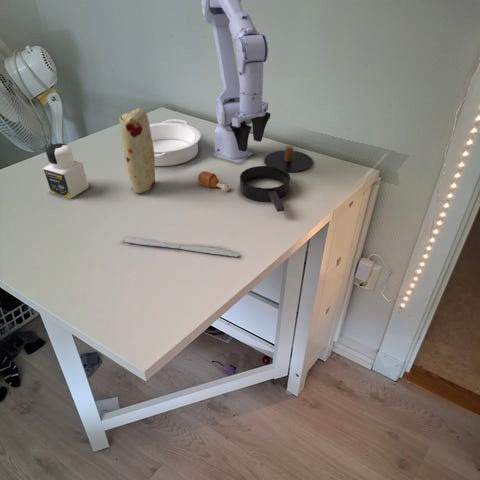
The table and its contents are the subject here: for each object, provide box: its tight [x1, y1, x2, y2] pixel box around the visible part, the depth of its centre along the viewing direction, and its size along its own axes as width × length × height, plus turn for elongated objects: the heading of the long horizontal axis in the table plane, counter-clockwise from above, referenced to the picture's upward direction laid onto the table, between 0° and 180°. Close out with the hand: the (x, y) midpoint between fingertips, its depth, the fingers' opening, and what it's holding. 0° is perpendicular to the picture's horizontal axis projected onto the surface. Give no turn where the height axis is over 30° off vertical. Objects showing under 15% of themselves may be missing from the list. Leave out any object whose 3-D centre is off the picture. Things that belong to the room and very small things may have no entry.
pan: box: [239, 165, 292, 203], centre depth 116 cm, size 13×13×4 cm
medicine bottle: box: [43, 142, 89, 200], centre depth 114 cm, size 7×7×12 cm
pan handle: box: [268, 190, 286, 213], centre depth 108 cm, size 9×2×1 cm, turn 12°
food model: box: [118, 107, 156, 194], centre depth 112 cm, size 10×7×20 cm
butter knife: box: [123, 237, 240, 258], centre depth 99 cm, size 1×27×3 cm
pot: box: [149, 118, 201, 167], centre depth 134 cm, size 29×22×5 cm
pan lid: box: [263, 145, 313, 174], centre depth 128 cm, size 14×14×5 cm
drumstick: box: [197, 171, 230, 193], centre depth 118 cm, size 10×4×4 cm, turn 57°
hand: (250, 145), depth 119 cm, fingers open, 7 cm apart
